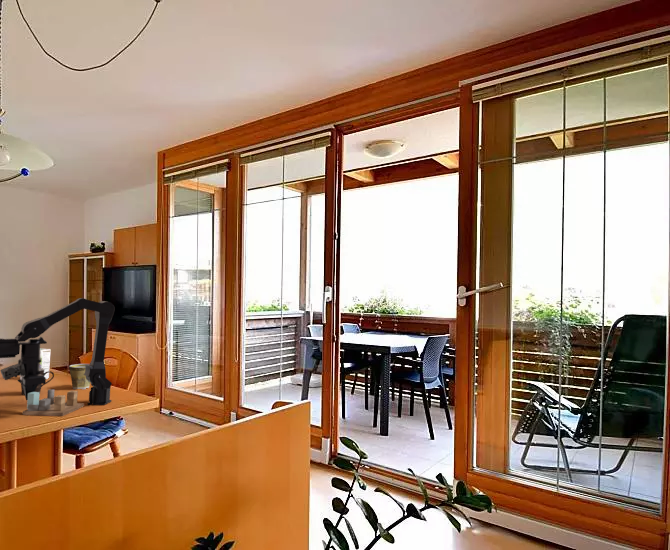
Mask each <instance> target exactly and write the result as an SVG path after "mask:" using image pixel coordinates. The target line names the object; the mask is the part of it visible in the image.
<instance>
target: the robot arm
mask: <svg viewBox="0 0 670 550" xmlns="http://www.w3.org/2000/svg"><path fill="white" fill-rule="evenodd" d="M115 308H116V307H115V305H114V304H113V303H112V302H110V301H107V300H106V301H105V300H103V301H95V300H89V299H86V298H84V297H80V298H77V299H75V300H74V301H72V302H70V303H69V304H66V305H65V306H63V307H60V308H59V309H57V310H55V311H53V312H51V313H48V314H47V315H45V316H41V317H38V318H34V319H31V320H28V321H27V322H25V323H23V324H22V325H21V330H20V332H19V333H18V334H17V335H15V337H14V338H3V337H2V338H0V359H8V358H9V359H10V358H16V356H18V355H19V354H20V358H19V359H18V360H17V363H16V364H12V365H10V366H7V367H4V368H2V369H0V374H1V376H2V379H4V381H8V380H11V379H12V378H18V376H19V379H17V382H19V383H20V385H21V384H22V385H23V389H24V393H25V395H24V396H25V401H27V399H28V393H31V392H34V391H35V389H36V388H37V386H38V384H44V383H46V382H47V379H46V378H45V377H44V376H43V375H41V374H40V370H39V363H40V362H41V359H40V348H41V345H47V343H48V341H46V340H44V337H42V336H41V335H42V334H44V333H45V332H46V331H47V330H49V329H50V328H51V327H52V326H53V325H55V324H57V323H58V322H59V323H60V322H61V321H63V320H65V319H66V318H68V317H70V316H72V315H74V314H76V313H79V311H82V310H83V309H84V310H88V311H92V312H94V318H95V324H96V327H95V333H94V340H93V341H94V342H93V350H92V357H91V360H90V363H85V364H86V365H85V368H86V370H85V373H84V375H86V379H87V380H88V381H89V382H90V385H91V387H90V390H89V392H88V393H89V395H88V402H87V405H92V404H93V405H96V406H98V405H99V406H102V405H103V406H104V405H107V404H110V403H111V402H112V401H113V400H112V399H111V386H112V384H113V383H112V382H111V381H110V380H109V379H108V378H107V373H106V372H107V371H106V370H107V369H106V365H105V357H106V356H105V354H106V348H107V341H108V333H109V326H110V323H111V322H112V319H113V316H114V314H115V311H116V310H115ZM38 337H39V338H38ZM20 346H21V347H20ZM88 364H89V365H88Z"/></svg>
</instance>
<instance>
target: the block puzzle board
mask: <svg viewBox="0 0 670 550" xmlns="http://www.w3.org/2000/svg"><path fill="white" fill-rule="evenodd" d="M78 392H79V390H69V391H67V392H66V395H64V394H63V395H60V394H59V395H55V389H53V388H51V389H50V388H49V389H47V395H46V396H47V397H46V398H42V399H39V405H32V404H29V405H28V409H27V408H26V410H23V411H22V415H23V416H51V417H64V416H66V415H69V414H70V413H73V412H75V411H77V410H80V409H82V408H84V407H85V403H83V402H78ZM83 406H84V407H83ZM81 407H82V408H81ZM79 408H80V409H79Z"/></svg>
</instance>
